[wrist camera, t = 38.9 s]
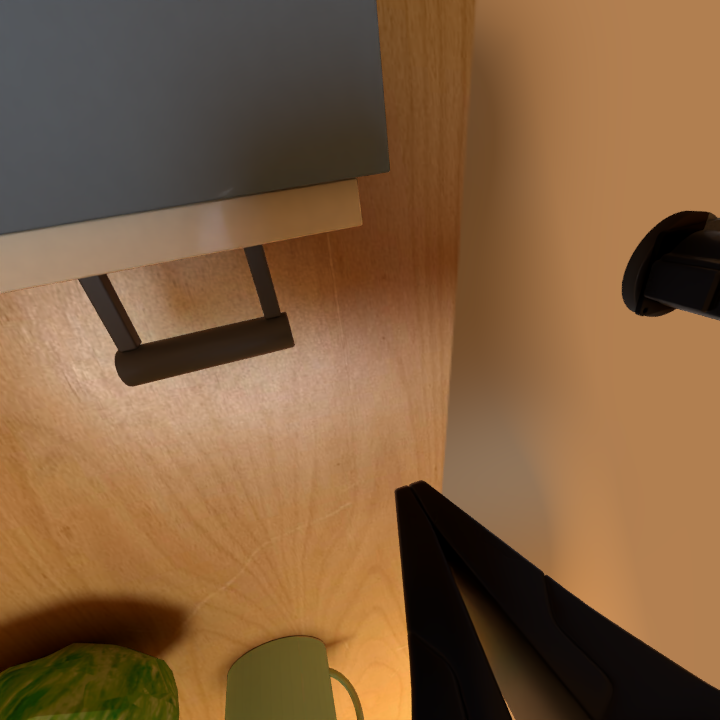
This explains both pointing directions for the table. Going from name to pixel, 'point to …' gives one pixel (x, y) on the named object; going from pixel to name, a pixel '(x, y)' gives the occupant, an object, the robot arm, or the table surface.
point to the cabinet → (181, 103)
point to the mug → (285, 683)
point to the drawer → (176, 242)
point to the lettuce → (90, 686)
